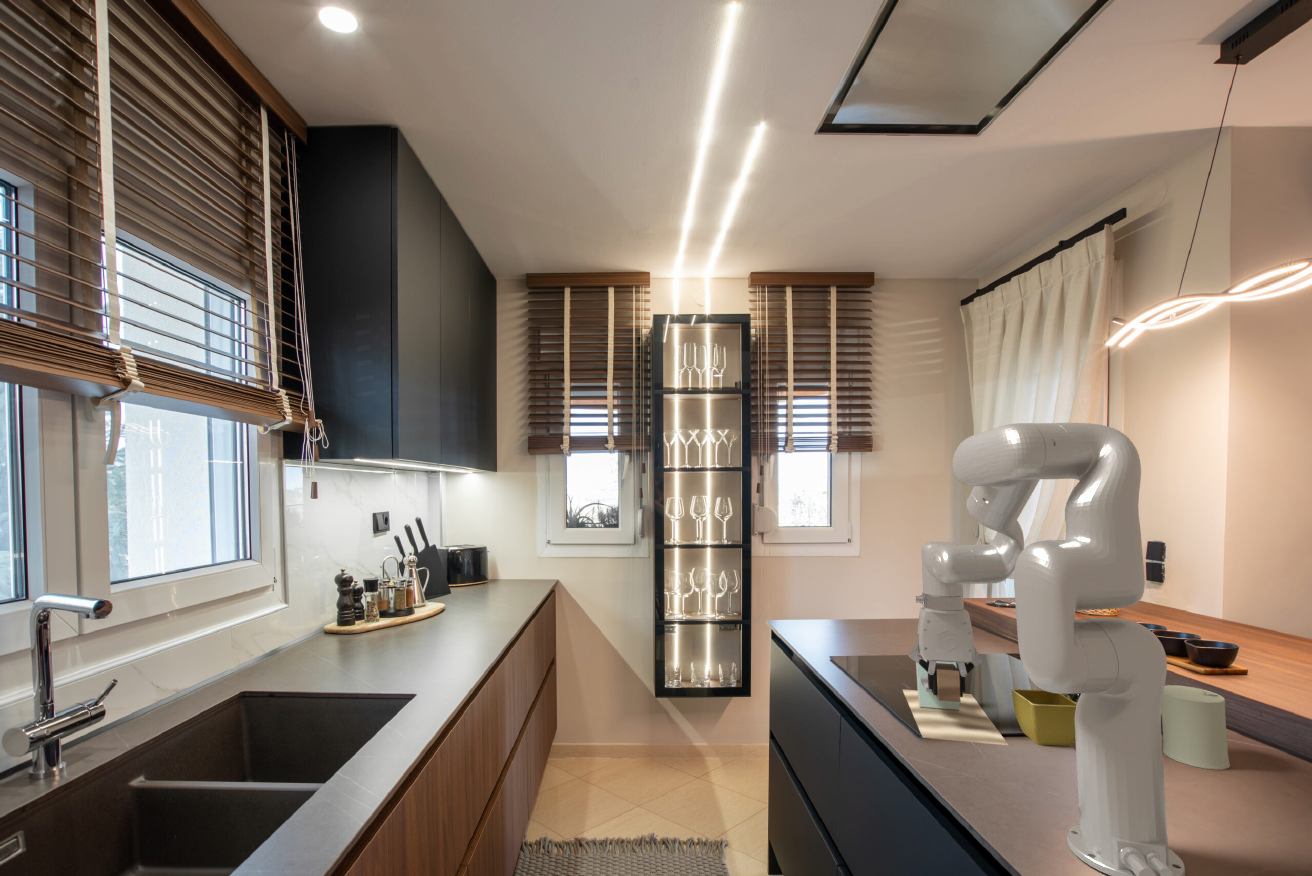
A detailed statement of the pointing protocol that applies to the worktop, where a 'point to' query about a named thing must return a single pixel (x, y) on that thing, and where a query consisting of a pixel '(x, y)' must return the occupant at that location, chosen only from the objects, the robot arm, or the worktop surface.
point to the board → (954, 721)
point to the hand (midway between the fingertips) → (946, 693)
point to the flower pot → (1045, 716)
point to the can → (1194, 727)
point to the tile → (928, 697)
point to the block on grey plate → (945, 682)
